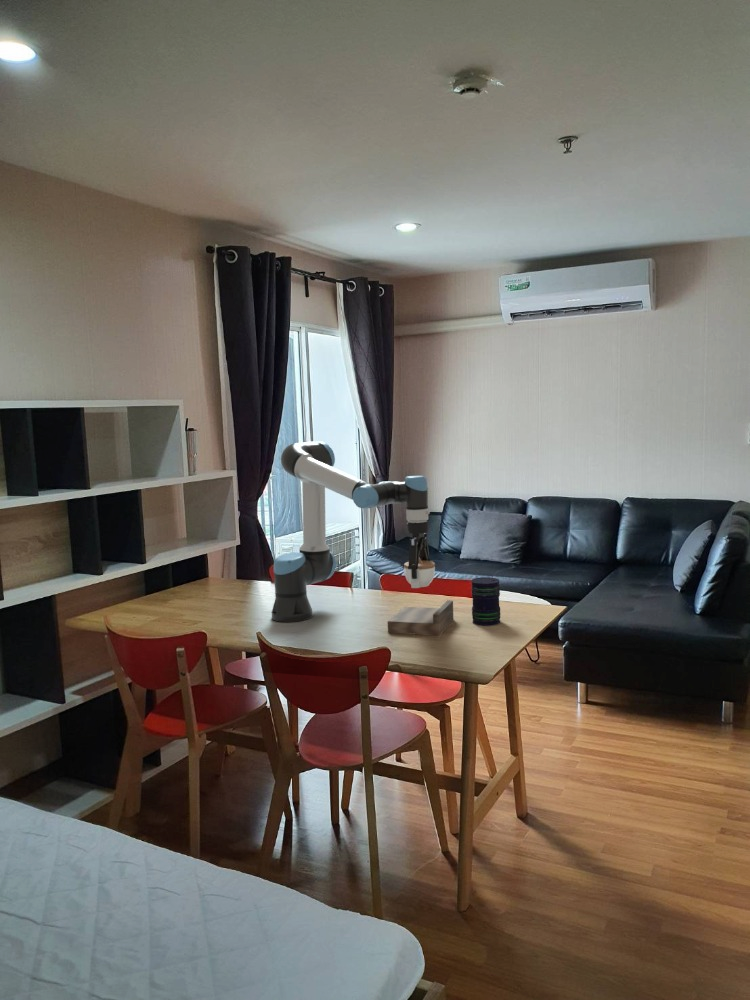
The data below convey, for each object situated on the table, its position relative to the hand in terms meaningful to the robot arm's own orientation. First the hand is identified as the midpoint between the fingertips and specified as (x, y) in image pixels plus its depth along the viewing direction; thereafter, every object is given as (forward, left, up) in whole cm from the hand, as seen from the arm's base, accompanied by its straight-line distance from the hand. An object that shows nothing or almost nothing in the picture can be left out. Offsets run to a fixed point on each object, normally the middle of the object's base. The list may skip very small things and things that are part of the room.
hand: (420, 584), depth 266 cm
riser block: (0, 0, -15) cm, 15 cm away
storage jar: (+21, +9, -15) cm, 27 cm away
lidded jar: (0, 0, -1) cm, 1 cm away
